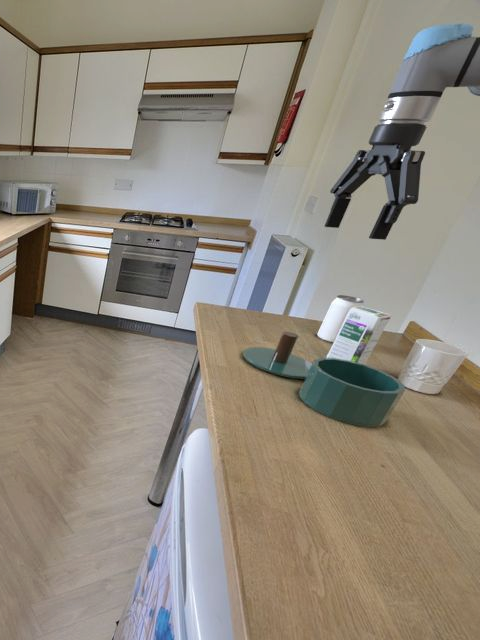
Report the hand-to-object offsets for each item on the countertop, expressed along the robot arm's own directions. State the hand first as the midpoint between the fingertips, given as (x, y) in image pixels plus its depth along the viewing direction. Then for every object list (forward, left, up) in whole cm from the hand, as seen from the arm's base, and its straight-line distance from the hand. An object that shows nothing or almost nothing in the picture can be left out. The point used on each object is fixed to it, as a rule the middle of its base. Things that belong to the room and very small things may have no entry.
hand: (352, 232), depth 90 cm
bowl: (-9, +22, -31) cm, 39 cm away
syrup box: (-9, -2, -31) cm, 32 cm away
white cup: (-22, -2, -31) cm, 38 cm away
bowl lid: (+3, +10, -30) cm, 32 cm away
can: (-6, -21, -31) cm, 38 cm away
